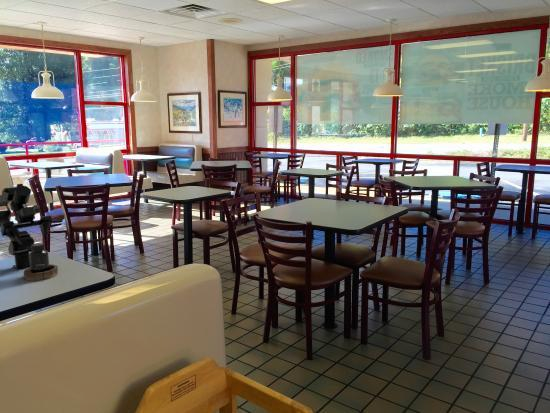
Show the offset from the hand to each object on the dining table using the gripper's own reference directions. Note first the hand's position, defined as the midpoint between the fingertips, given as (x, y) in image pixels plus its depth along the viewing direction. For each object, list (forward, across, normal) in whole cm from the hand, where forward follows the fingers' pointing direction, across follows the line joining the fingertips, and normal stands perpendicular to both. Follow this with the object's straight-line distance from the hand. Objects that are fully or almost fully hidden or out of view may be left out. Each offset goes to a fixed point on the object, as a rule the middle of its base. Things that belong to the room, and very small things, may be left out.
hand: (34, 241), depth 187 cm
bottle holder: (+12, 0, +7) cm, 14 cm away
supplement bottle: (+11, 0, +7) cm, 13 cm away
